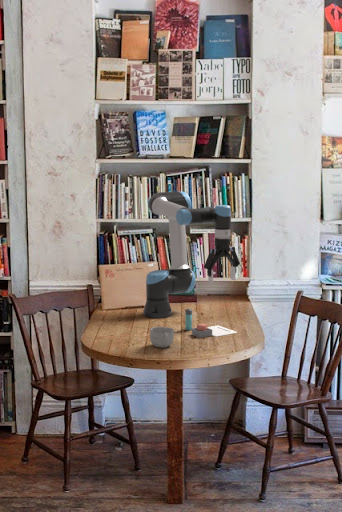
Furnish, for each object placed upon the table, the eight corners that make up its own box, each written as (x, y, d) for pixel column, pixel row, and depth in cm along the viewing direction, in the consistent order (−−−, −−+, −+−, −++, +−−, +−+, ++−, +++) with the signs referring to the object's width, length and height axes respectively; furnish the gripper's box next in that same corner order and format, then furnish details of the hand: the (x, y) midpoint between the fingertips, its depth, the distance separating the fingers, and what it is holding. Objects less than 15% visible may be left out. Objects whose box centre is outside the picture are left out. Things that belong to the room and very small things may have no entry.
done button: (194, 331, 353) (194, 324, 353) (203, 330, 356) (203, 323, 356) (200, 333, 349) (200, 326, 349) (209, 332, 352) (209, 325, 351)
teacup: (149, 343, 340) (149, 326, 339) (173, 342, 341) (173, 325, 340) (151, 351, 327) (151, 334, 325) (175, 351, 327) (175, 333, 326)
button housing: (191, 334, 354) (191, 328, 354) (203, 332, 358) (203, 326, 357) (200, 337, 348) (200, 331, 348) (212, 335, 352) (212, 329, 351)
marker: (183, 329, 364) (183, 309, 362) (189, 328, 366) (189, 308, 364) (187, 330, 361) (187, 310, 359) (193, 329, 363) (193, 309, 361)
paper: (196, 329, 363) (196, 328, 363) (218, 325, 370) (218, 325, 370) (216, 336, 350) (216, 336, 350) (237, 332, 357) (237, 332, 357)
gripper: (206, 240, 343) (205, 285, 347) (247, 236, 357) (246, 279, 361) (196, 238, 349) (196, 282, 353) (237, 234, 363) (237, 277, 367)
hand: (221, 281), depth 357 cm, fingers open, 13 cm apart
